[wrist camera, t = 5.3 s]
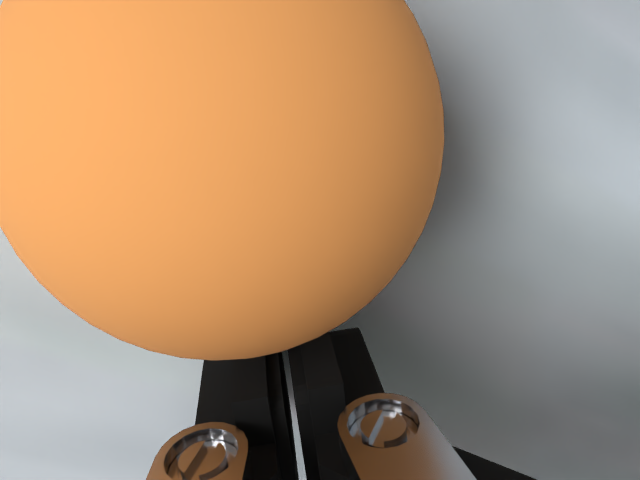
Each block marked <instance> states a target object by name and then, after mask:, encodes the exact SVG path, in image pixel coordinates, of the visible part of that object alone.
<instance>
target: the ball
mask: <svg viewBox="0 0 640 480" xmlns="http://www.w3.org/2000/svg"><path fill="white" fill-rule="evenodd" d="M443 149H444V111H443V105H442V99H441V92H440V86H439V81H438V77H437V74H436V71H435V68H434V64H433V61H432V58H431V55H430V52H429V48H428V45H427V42H426V40H425V38H424V36H423V34H422V32H421V29H420V27H419V25H418V23H417V21H416V19H415V17H414V15H413V13H412V12H411V10H410V9H409V7H408V6H407V4H406V3H405V1H404V0H3V2H2V4H1V6H0V227H1V229H2V230H3V232H4V234H5V235H6V237H7V239H8V241H9V242H10V244H11V246H12V247H13V249H14V251H15V252H16V254H17V256H18V257H19V258H20V259H21V261H22V262H23V263H24V264H25V266H26V267H27V268H28V269H29V271H30V272H31V273H32V274H33V276H34V277H35V278H36V279H37V281H38V282H39V283H40V284H41V285H43V286H44V287H45V288H46V289H47V290H48V291H49V292H50V293H51V294H52V295H53V296H54V297H55V298H56V299H57V300H58V301H59V302H61V303H62V304H63V305H64V306H65V307H67V308H68V309H70V310H71V311H72V312H74V313H75V314H77V315H78V316H79V317H81V318H82V319H84V320H85V321H86V322H88V323H89V324H91V325H93V326H95V327H96V328H98V329H100V330H102V331H104V332H106V333H108V334H110V335H112V336H113V337H115V338H117V339H119V340H122V341H125V342H127V343H130V344H133V345H135V346H138V347H141V348H144V349H146V350H149V351H153V352H158V353H162V354H167V355H171V356H176V357H180V358H190V359H201V360H233V359H248V358H255V357H260V356H265V355H269V354H274V353H278V352H281V351H285V350H288V349H291V348H293V347H296V346H298V345H301V344H303V343H306V342H308V341H310V340H313V339H315V338H318V337H320V336H322V335H323V334H325V333H327V332H328V331H330V330H332V329H334V328H335V327H337V326H339V325H340V324H342V323H344V322H345V321H347V320H348V319H349V318H351V317H352V316H353V315H354V314H356V313H357V312H358V311H360V310H361V309H362V308H363V307H365V306H366V305H367V304H368V303H370V302H371V301H372V300H373V299H374V298H375V297H376V296H377V295H378V294H379V292H380V291H381V290H382V289H383V288H384V287H385V286H386V285H387V284H388V283H389V282H390V281H391V280H392V278H393V277H394V276H395V274H396V273H397V272H398V270H399V269H400V268H401V266H402V265H403V264H404V262H405V261H406V260H407V258H408V257H409V255H410V253H411V251H412V249H413V248H414V246H415V244H416V242H417V241H418V239H419V237H420V235H421V233H422V231H423V229H424V226H425V224H426V221H427V219H428V216H429V214H430V211H431V208H432V206H433V202H434V198H435V194H436V190H437V186H438V182H439V178H440V174H441V167H442V158H443Z"/></svg>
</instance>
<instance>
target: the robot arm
mask: <svg viewBox="0 0 640 480" xmlns="http://www.w3.org/2000/svg"><path fill="white" fill-rule="evenodd" d="M288 353H289V361H290V368H291V376H292V383H293V391H294V398H295V405H296V411H297V418H298V425H299V431H300V438H301V444H302V451H303V458H304V464H305V471H306V478H307V480H536V479H534V478H531V477H529V476H526V475H524V474H521V473H519V472H516V471H514V470H511V469H509V468H506V467H504V466H501V465H499V464H496V463H494V462H491V461H489V460H486V459H484V458H481V457H479V456H476V455H474V454H471V453H469V452H466V451H463V450H461V449H458V448H456V447H453V446H451V444H450V443H449V442H448V440H447V439H446V438H445V436H444V435H443V434H442V432H441V431H440V430H439V428H438V427H437V425H436V424H435V423H434V421H433V420H432V419H431V417H430V416H429V415H428V413H427V412H426V411H425V409H424V408H422V407H421V406H420V405H419V404H418V403H417V402H416V401H414V400H412V399H410V398H408V397H406V396H402V395H398V394H393V393H384V390H383V388H382V385H381V383H380V380H379V377H378V375H377V372H376V370H375V367H374V365H373V362H372V360H371V357H370V355H369V352H368V349H367V347H366V344H365V342H364V339H363V337H362V334H361V332H360V330H359V328H351V329H345V330H339V331H333V332H329V331H328V332H327V333H325V334H323V335H322V336H320V337H318V338H315V339H313V340H310V341H308V342H306V343H303V344H301V345H298V346H296V347H293V348H291V349H288ZM146 480H299V478H298V470H297V461H296V453H295V444H294V436H293V427H292V419H291V410H290V403H289V395H288V389H287V382H286V376H285V370H284V363H283V357H282V351H281V352H278V353H274V354H269V355H265V356H260V357H255V358H248V359H233V360H204V363H203V371H202V378H201V385H200V393H199V400H198V408H197V415H196V422H195V426H192V427H189V428H187V429H184V430H182V431H181V432H179V433H178V434H176V435H174V436H173V437H171V438H170V439H169V440H168V441H167V442H166V443H165V444H164V445H163V446H162V447H161V449H160V450H159V452H158V454H157V455H156V457H155V459H154V461H153V464H152V466H151V469H150V471H149V473H148V476H147V478H146Z"/></svg>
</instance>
